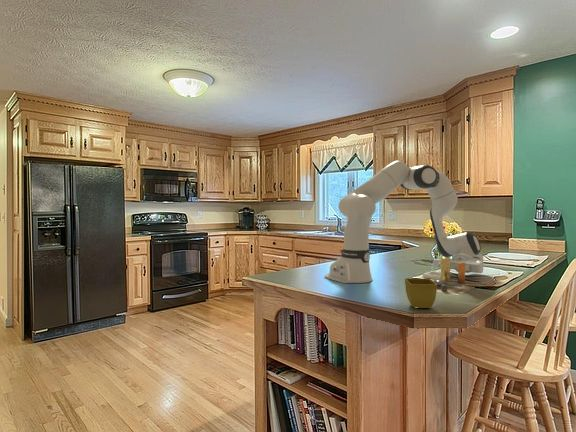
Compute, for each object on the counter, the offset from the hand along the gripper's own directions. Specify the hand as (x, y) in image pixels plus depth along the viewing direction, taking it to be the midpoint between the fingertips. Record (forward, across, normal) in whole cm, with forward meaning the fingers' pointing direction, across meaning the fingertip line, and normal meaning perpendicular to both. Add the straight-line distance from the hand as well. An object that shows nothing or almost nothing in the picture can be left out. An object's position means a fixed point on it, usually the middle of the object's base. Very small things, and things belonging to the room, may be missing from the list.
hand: (450, 267), depth 154 cm
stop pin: (+5, 0, +6) cm, 8 cm away
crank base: (+11, +2, +7) cm, 13 cm away
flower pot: (+41, +7, +7) cm, 42 cm away
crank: (+11, +4, +5) cm, 13 cm away
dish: (-4, -8, +7) cm, 11 cm away
